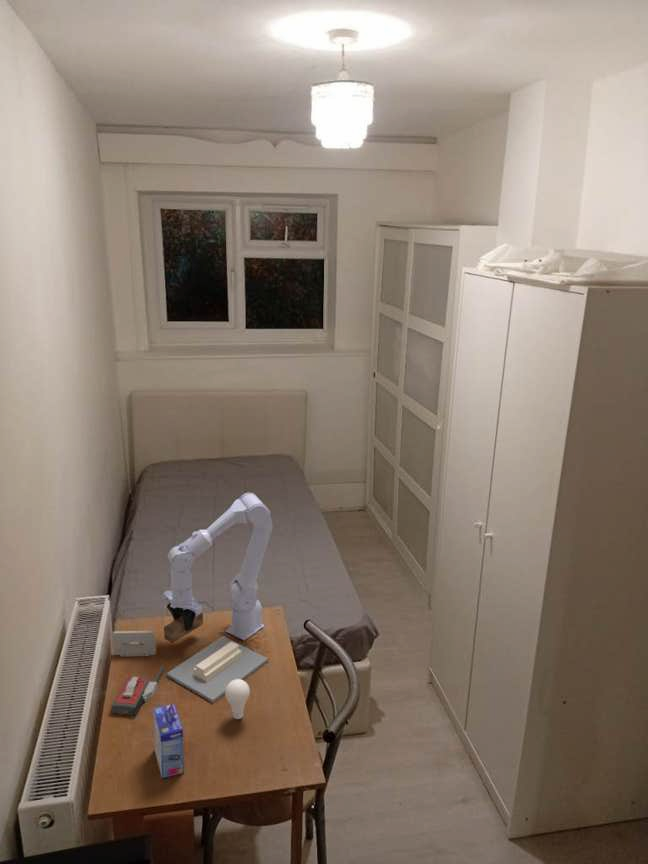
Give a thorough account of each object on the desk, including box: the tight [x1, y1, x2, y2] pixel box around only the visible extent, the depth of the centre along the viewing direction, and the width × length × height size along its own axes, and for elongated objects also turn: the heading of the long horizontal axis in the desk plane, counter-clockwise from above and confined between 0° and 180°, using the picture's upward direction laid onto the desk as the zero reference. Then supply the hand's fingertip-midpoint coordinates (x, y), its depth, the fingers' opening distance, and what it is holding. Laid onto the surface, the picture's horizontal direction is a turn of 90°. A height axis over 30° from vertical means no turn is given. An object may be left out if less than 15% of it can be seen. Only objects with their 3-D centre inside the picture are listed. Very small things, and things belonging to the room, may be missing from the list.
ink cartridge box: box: [152, 703, 185, 779], centre depth 152 cm, size 10×6×14 cm, turn 24°
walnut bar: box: [163, 612, 204, 644], centre depth 195 cm, size 12×4×4 cm, turn 144°
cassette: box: [111, 630, 157, 657], centre depth 191 cm, size 12×2×8 cm, turn 93°
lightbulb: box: [224, 679, 251, 720], centre depth 167 cm, size 6×6×11 cm
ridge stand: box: [166, 635, 269, 704], centre depth 186 cm, size 22×18×4 cm
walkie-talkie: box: [111, 664, 165, 717], centre depth 177 cm, size 9×4×20 cm
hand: (184, 626), depth 195 cm, fingers closed on walnut bar, 3 cm apart
